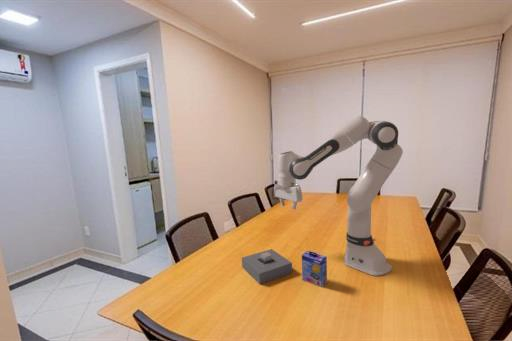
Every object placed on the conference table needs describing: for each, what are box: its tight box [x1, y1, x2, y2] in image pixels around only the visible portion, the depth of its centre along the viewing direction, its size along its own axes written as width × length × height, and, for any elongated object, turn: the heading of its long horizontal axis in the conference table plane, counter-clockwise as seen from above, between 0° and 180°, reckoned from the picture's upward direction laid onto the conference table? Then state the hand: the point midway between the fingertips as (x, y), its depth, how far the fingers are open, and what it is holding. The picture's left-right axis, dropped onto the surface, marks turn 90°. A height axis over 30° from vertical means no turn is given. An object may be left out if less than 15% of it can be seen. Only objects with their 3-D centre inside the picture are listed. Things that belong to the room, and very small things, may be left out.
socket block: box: [241, 248, 293, 285], centre depth 121 cm, size 18×18×5 cm
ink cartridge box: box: [301, 250, 328, 288], centre depth 110 cm, size 10×6×14 cm, turn 51°
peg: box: [260, 252, 272, 264], centre depth 121 cm, size 4×4×8 cm
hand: (288, 207), depth 133 cm, fingers open, 8 cm apart
